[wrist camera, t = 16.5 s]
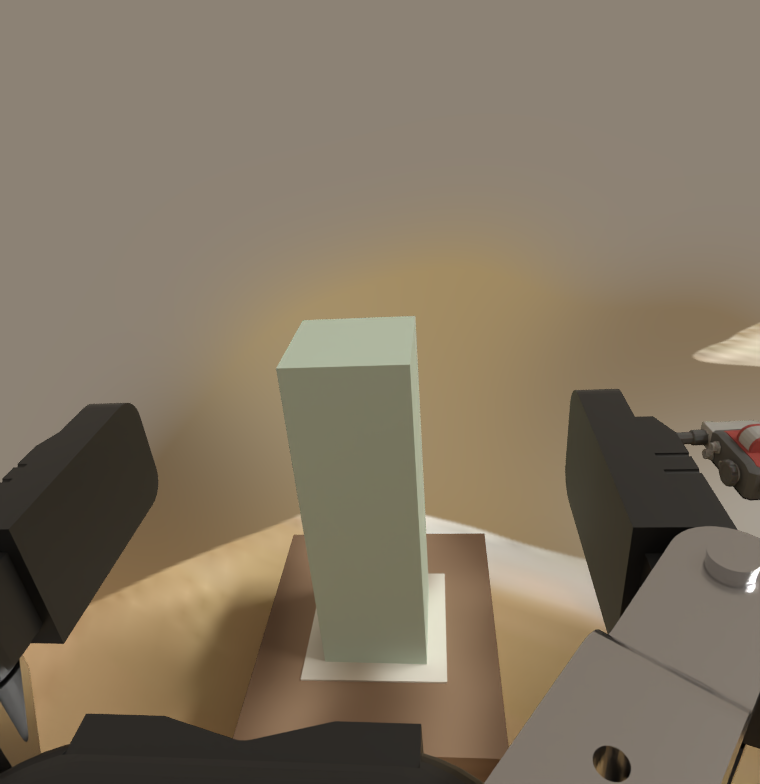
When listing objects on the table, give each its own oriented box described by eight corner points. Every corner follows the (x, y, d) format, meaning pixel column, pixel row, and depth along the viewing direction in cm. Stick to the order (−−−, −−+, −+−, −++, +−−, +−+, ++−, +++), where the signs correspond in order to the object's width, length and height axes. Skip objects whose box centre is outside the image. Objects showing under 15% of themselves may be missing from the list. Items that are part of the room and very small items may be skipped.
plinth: (483, 593, 40) (484, 532, 38) (507, 826, 28) (509, 757, 25) (303, 592, 41) (293, 533, 39) (248, 816, 29) (228, 749, 26)
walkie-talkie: (837, 435, 54) (607, 448, 55) (851, 390, 52) (612, 405, 52) (914, 496, 46) (643, 510, 47) (934, 446, 44) (651, 462, 45)
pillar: (428, 587, 34) (415, 316, 27) (426, 664, 30) (409, 364, 22) (340, 586, 34) (302, 320, 27) (325, 661, 30) (276, 368, 23)
